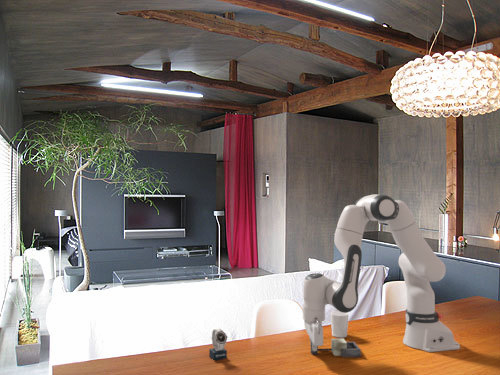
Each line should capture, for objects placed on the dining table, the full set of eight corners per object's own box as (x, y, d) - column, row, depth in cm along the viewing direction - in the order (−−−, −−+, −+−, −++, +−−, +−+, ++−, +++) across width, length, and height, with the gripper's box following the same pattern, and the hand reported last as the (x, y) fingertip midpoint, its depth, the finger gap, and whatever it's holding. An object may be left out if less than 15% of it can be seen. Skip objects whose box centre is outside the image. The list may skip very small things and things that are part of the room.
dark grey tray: (354, 348, 179) (354, 341, 179) (360, 357, 170) (360, 349, 170) (336, 349, 178) (336, 341, 178) (341, 357, 170) (341, 349, 170)
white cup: (328, 336, 193) (329, 314, 193) (332, 331, 200) (332, 309, 200) (346, 339, 190) (346, 316, 190) (349, 333, 198) (349, 311, 198)
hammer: (343, 350, 177) (343, 338, 177) (346, 355, 172) (346, 342, 172) (310, 351, 176) (310, 338, 176) (312, 355, 171) (312, 343, 171)
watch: (215, 362, 164) (215, 333, 164) (207, 355, 171) (207, 327, 171) (229, 360, 167) (229, 331, 167) (220, 352, 174) (220, 325, 174)
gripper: (327, 322, 163) (327, 359, 163) (316, 307, 184) (316, 340, 184) (311, 322, 163) (310, 359, 163) (301, 307, 183) (301, 340, 183)
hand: (313, 349), depth 174 cm, fingers closed on hammer
